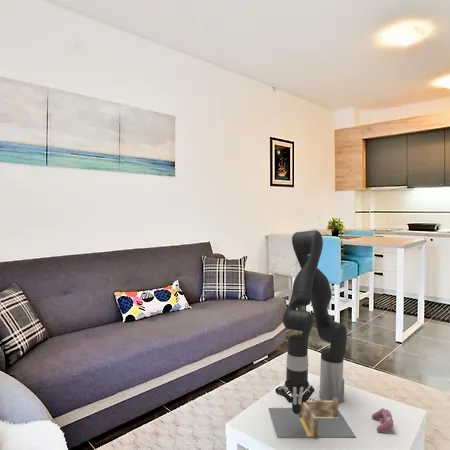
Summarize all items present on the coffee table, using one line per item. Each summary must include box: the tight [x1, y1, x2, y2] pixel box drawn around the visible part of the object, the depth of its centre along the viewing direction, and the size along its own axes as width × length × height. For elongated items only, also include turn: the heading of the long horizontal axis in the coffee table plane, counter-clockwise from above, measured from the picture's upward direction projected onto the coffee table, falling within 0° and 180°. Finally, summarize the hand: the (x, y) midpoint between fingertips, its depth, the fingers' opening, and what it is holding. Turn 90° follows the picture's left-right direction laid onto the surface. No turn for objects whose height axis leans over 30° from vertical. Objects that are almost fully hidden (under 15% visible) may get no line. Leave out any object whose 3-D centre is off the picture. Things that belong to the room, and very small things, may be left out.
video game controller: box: [371, 407, 394, 433], centre depth 135 cm, size 10×5×7 cm, turn 169°
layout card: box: [268, 407, 357, 439], centre depth 136 cm, size 28×18×1 cm, turn 93°
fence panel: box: [302, 402, 318, 439], centre depth 132 cm, size 12×1×6 cm, turn 9°
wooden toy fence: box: [299, 397, 339, 418], centre depth 139 cm, size 15×2×8 cm, turn 93°
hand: (296, 412), depth 129 cm, fingers closed
